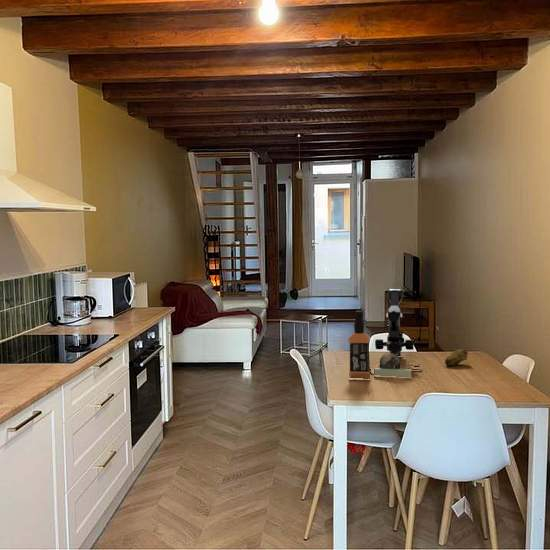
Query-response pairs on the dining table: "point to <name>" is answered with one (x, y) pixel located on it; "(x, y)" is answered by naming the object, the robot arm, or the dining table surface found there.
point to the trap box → (416, 366)
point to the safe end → (393, 372)
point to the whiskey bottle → (359, 350)
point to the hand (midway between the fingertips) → (394, 359)
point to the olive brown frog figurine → (456, 357)
